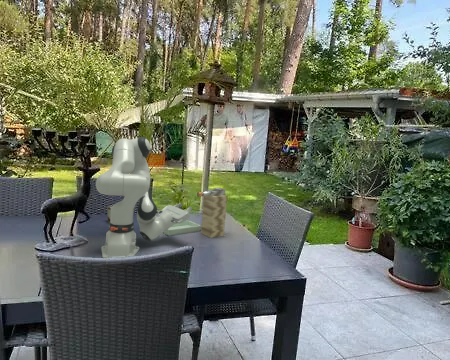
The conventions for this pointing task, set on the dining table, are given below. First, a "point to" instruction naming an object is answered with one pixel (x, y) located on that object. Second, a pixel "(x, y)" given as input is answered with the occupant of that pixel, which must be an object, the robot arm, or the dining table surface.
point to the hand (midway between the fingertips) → (186, 205)
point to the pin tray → (183, 228)
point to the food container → (109, 212)
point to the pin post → (214, 213)
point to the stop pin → (204, 193)
